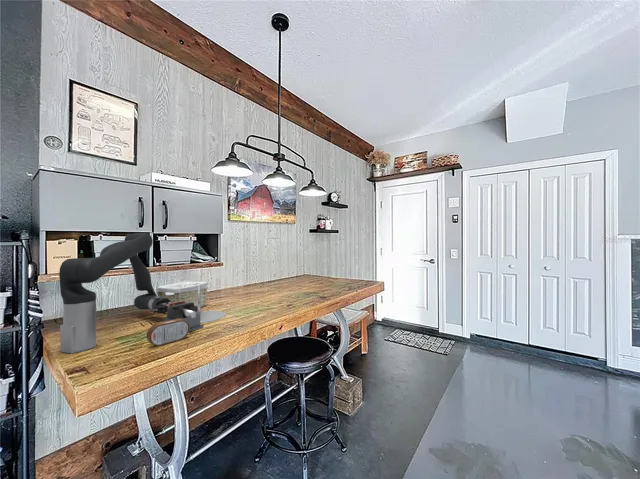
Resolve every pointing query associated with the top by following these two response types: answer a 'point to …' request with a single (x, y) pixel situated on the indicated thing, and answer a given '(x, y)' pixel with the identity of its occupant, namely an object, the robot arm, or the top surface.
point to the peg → (184, 310)
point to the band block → (177, 313)
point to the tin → (167, 332)
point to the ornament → (208, 315)
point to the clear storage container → (184, 292)
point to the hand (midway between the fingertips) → (176, 309)
